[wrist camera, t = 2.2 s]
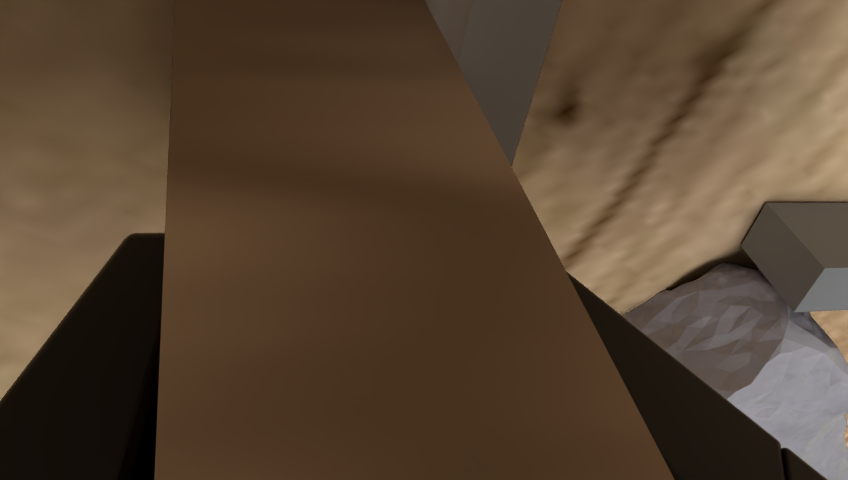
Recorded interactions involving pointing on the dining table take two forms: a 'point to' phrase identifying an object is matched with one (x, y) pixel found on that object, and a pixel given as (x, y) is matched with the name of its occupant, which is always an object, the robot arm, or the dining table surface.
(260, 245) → the block
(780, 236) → the frame
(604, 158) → the dining table surface
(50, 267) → the dining table surface
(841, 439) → the stone block
